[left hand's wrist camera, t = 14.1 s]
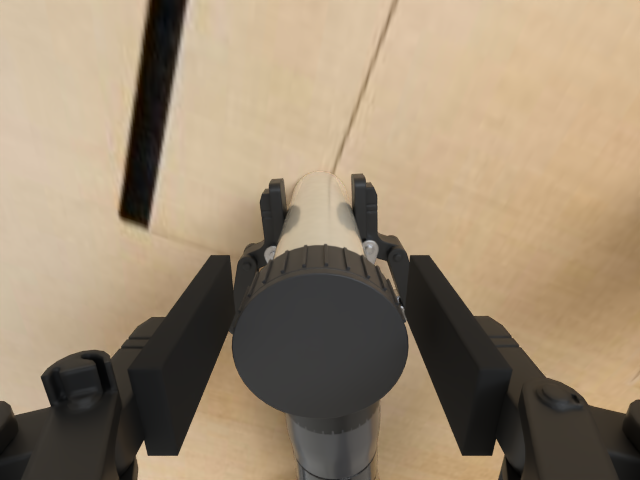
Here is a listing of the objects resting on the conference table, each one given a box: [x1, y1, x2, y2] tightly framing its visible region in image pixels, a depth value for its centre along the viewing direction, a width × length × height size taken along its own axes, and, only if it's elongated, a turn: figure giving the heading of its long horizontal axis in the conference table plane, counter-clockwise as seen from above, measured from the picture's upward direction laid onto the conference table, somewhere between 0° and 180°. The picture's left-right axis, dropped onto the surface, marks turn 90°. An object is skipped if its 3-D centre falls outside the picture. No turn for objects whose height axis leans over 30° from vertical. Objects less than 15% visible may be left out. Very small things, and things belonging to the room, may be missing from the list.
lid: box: [232, 244, 408, 419], centre depth 12 cm, size 5×5×2 cm
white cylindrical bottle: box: [273, 171, 368, 260], centre depth 20 cm, size 4×4×18 cm
